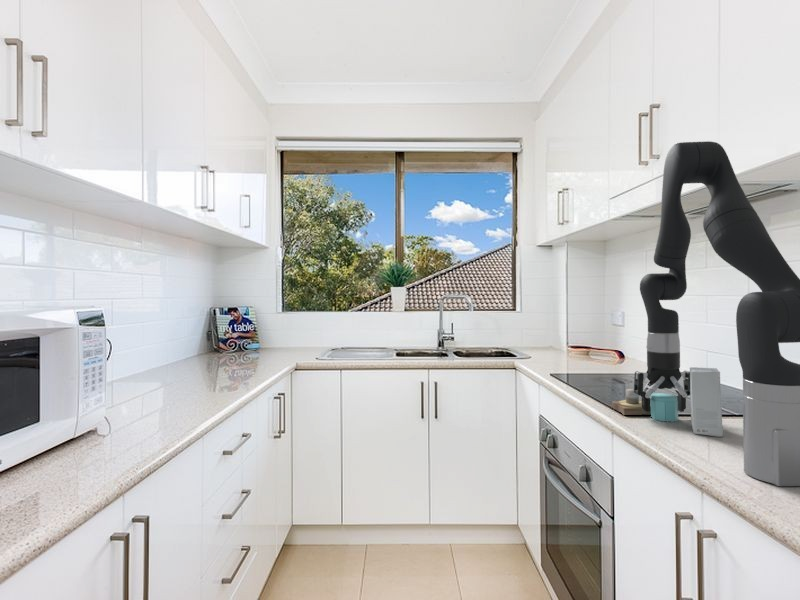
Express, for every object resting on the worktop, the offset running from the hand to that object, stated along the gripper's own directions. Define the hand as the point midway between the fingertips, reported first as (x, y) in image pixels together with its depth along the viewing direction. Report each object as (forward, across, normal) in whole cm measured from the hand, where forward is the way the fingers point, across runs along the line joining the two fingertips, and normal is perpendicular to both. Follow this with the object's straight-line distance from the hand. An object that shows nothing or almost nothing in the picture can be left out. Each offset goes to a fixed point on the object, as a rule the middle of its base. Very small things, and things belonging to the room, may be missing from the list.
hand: (663, 411), depth 121 cm
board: (+2, -5, +7) cm, 9 cm away
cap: (+2, 0, 0) cm, 2 cm away
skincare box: (+2, +4, -11) cm, 12 cm away
